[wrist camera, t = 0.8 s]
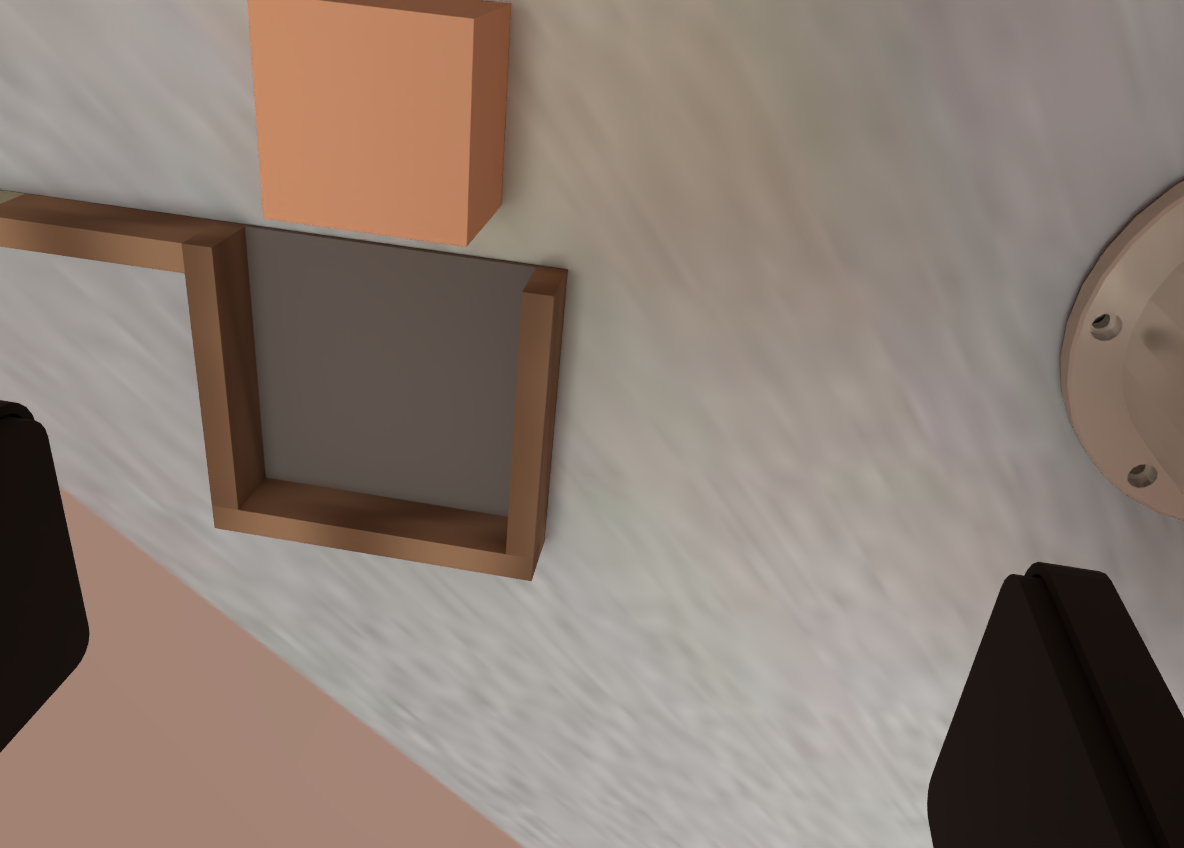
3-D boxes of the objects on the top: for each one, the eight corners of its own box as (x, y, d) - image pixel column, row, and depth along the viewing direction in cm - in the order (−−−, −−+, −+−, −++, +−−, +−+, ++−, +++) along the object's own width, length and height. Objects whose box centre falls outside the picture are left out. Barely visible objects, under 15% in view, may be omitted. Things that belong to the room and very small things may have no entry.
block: (512, 3, 28) (473, 18, 24) (502, 204, 31) (466, 247, 27) (315, -20, 29) (246, -9, 25) (324, 179, 32) (263, 218, 28)
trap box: (643, -622, 22) (631, -681, 19) (544, 541, 37) (531, 580, 35) (-388, -688, 24) (-503, -748, 21) (-73, 440, 39) (-122, 471, 37)
